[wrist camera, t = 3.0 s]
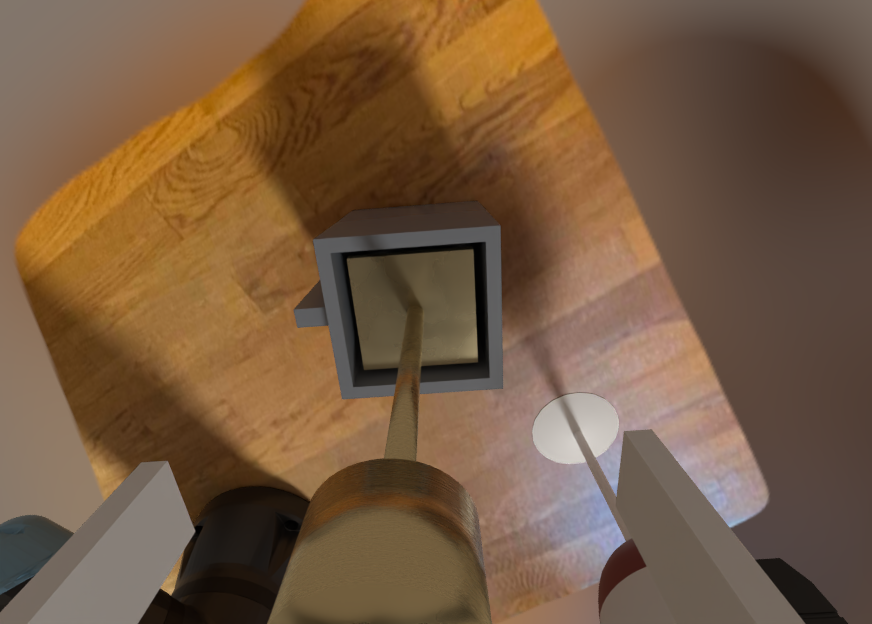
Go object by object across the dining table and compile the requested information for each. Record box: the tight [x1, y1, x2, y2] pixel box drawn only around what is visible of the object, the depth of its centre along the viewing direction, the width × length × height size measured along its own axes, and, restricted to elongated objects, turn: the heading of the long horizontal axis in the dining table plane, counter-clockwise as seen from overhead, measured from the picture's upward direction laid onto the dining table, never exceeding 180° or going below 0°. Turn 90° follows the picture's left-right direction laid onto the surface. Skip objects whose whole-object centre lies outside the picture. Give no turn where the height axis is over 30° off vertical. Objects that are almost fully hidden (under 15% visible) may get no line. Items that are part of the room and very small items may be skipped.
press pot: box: [294, 201, 503, 399], centre depth 29 cm, size 12×10×12 cm
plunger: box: [267, 246, 492, 624], centre depth 16 cm, size 7×7×19 cm
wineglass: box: [532, 393, 676, 624], centre depth 30 cm, size 9×10×23 cm
